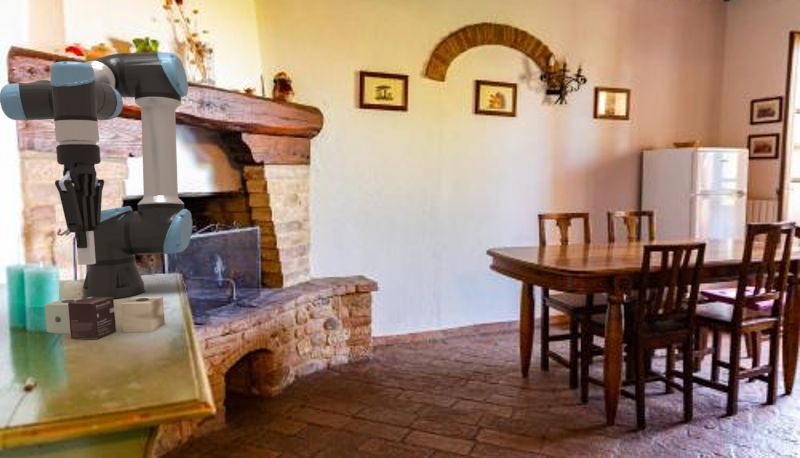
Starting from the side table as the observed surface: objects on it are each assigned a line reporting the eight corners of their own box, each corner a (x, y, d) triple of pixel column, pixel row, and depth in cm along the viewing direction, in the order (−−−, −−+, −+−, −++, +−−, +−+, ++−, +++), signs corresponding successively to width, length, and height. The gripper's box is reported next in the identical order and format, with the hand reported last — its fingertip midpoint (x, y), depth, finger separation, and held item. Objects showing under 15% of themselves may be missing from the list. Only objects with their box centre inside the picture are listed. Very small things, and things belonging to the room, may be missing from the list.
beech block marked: (137, 324, 129) (135, 296, 128) (164, 324, 128) (162, 295, 128) (123, 332, 123) (120, 302, 122) (151, 332, 123) (149, 302, 122)
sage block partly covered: (69, 325, 130) (66, 297, 130) (92, 326, 129) (90, 297, 128) (46, 333, 124) (43, 303, 124) (71, 334, 123) (68, 304, 122)
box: (96, 340, 118) (93, 303, 117) (69, 339, 119) (66, 302, 118) (117, 331, 124) (114, 296, 123) (91, 331, 125) (88, 296, 124)
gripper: (78, 146, 124) (87, 259, 126) (37, 142, 111) (47, 269, 113) (114, 145, 124) (122, 259, 126) (76, 141, 111) (86, 268, 113)
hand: (87, 263), depth 119 cm, fingers closed
